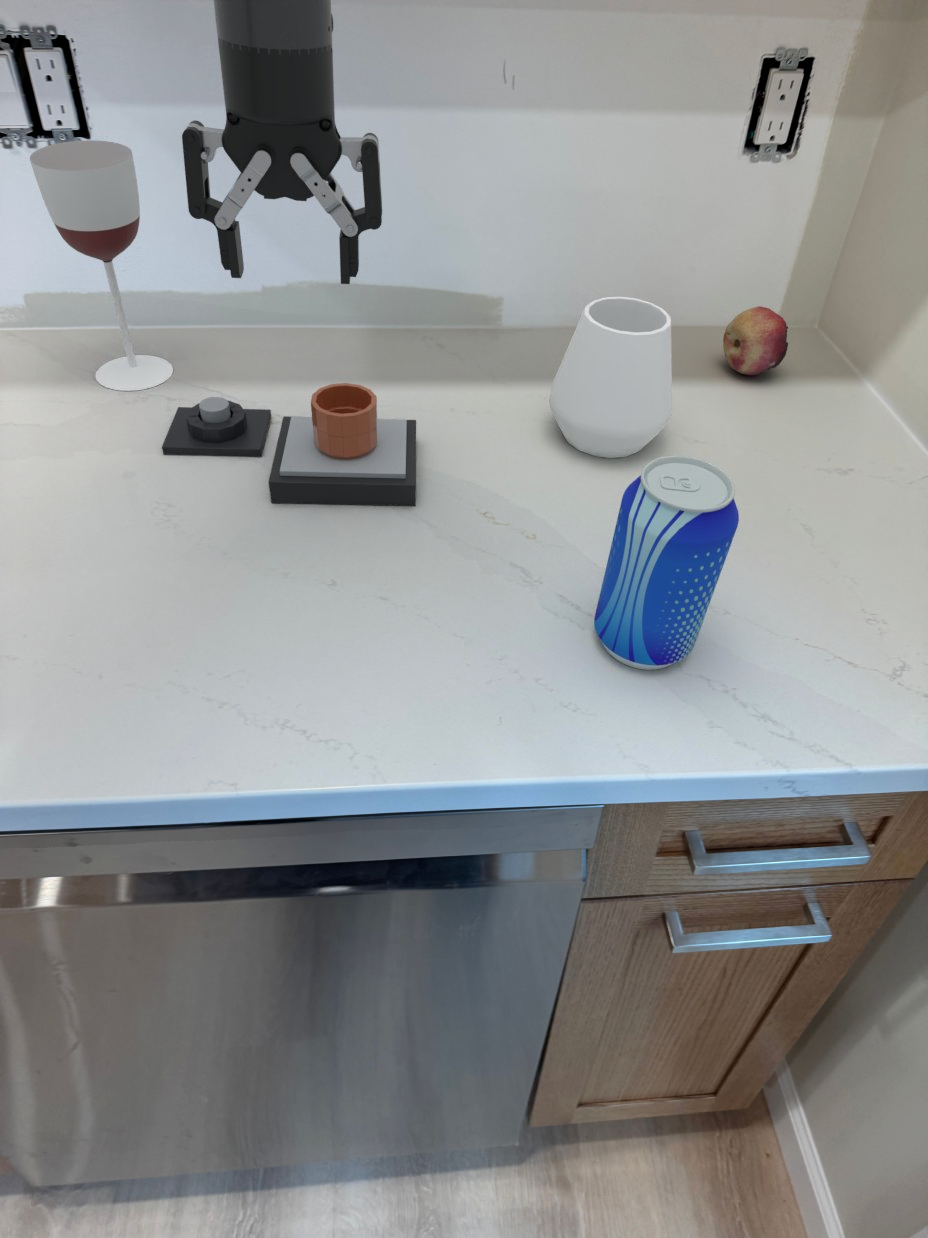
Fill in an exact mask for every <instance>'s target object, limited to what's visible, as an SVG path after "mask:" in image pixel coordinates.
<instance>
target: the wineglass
mask: <svg viewBox="0 0 928 1238" xmlns="http://www.w3.org/2000/svg"><path fill="white" fill-rule="evenodd" d="M29 161H30V164H31V168H32V171H33V174H34V177H35V180H36V183H37V185H38V188H39V189H38V190H39V192H40V194H41V197H42V200H43V202H44V206H45V207H46V210H47V212H48V215H49V217H50V218H51V221H52V223H53V224H54V226H55V228H56V230H57V231H58V233H59V235H60V236H61V238H62V239H63V241H64V242H65V243H66V244H67V245H68V246H69V247H70V248H72V249H73V250H75V251H77V252H78V253H80V254H82V255H84V256H87V257H90V258H93V259H96V260H100V261H102V263H103V265H104V270H105V273H106V278H107V283H108V286H109V291H110V294H111V295H110V296H111V298H112V302H113V307H114V310H115V315H116V318H117V319H116V320H117V322H118V327H119V330H120V334H121V338H122V339H121V340H122V343H123V347H124V350H125V351H124V352H125V355H126V356H122V357H118V358H115V359H111V360H109V361H107V362H105V363H104V364H103V365H101V366H100V367H99V368H98V369H97V370H96V372H95V380H96V381H97V383H98V384H99V385H101V386H102V387H105V388H106V389H109V390H110V389H111V390H115V391H120V392H121V391H122V392H123V391H124V392H133V391H143V390H146V389H147V390H148V389H151V388H154V387H156V386H159V385H161V384H163V383H165V382H166V381H168V380H169V379H170V378H171V377H172V375H173V373H174V366H173V365H172V364H171V363H170V362H169V361H168V360H166V359H164V358H162V357H159V356H154V355H145V354H136V355H135V351H134V347H133V343H132V339H131V335H130V330H129V326H128V321H127V318H126V313H125V309H124V305H123V302H122V297H121V293H120V289H119V284H118V279H117V275H116V272H115V268H114V263H113V261H114V259H115V258H116V257H118V256H119V255H120V254H122V253H123V252H125V251H126V250H127V249H128V248H129V247H130V246H131V245H132V243H133V242H134V240H135V239H136V238H137V235H138V232H139V227H140V217H141V208H140V207H141V205H140V195H139V187H138V180H137V173H136V166H135V162H134V156H133V151H132V149H131V148H130V147H128V146H126V145H125V144H122V143H119V142H113V141H107V140H90V139H89V140H87V139H86V140H71V141H65V142H60V143H59V142H58V143H54V144H50V145H46V146H44V147H41V148H39V149H37V150H35V151H33V152H32V153H31V154H30V156H29Z"/></svg>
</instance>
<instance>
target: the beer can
mask: <svg viewBox="0 0 928 1238" xmlns="http://www.w3.org/2000/svg"><path fill="white" fill-rule="evenodd" d="M735 486H736V485H735V484H734V482H733V480H732V478H731V477H730V475H728V474H727V473H726V471H724V470H723V469H721V468H720V467H718V466H716V465H715V464H713V463H711V462H709V461H706V460H703V459H699V458H697V457H693V456H686V455H667V456H661V457H657V458H655V459H653V460H651V461H649V462H648V463H646V464H645V466H644V467H643V468H642V470H641V473H640V475H639V476H638V477H637V478H636V479H634V480H633V481H632V482H631V483H630V484H629V485H628V486H627V488H625V490H624V492H623V494H622V497H621V502H620V506H619V510H618V515H617V519H616V523H615V527H614V532H613V536H612V541H611V544H610V549H609V554H608V557H607V561H606V566H605V571H604V575H603V579H602V583H601V588H600V593H599V595H598V601H597V605H596V609H595V613H594V619H593V626H594V627H593V628H594V631H595V634H596V636H597V637H598V639H599V641H600V643H602V646H603V647H604V649H605V650H606V652H607V653H608V654H609V655H610V656H611V657H613V658H614V659H615V660H617V661H618V662H620V663H622V664H623V665H626V666H628V667H632V668H634V669H639V670H647V671H648V670H649V671H653V670H654V671H655V670H660V669H661V670H662V669H665V668H667V667H669V666H672V665H673V664H676V663H679V662H680V661H682V660H684V659H685V658H687V657H688V656H689V655H690V654H691V652H692V651H693V649H694V648H695V644H696V642H697V639H698V637H699V634H700V631H701V628H702V626H703V623H704V621H705V618H706V615H707V611H708V609H709V606H710V603H711V601H712V598H713V595H714V592H715V590H716V588H717V584H718V581H719V578H720V577H721V574H722V571H723V568H724V565H725V562H726V560H727V557H728V554H729V551H730V549H731V546H732V543H733V540H734V537H735V534H736V532H737V529H738V526H739V522H740V516H739V515H740V514H739V509H738V506H737V504H736V501H735V494H736V488H735Z"/></svg>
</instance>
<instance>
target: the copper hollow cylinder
mask: <svg viewBox="0 0 928 1238" xmlns="http://www.w3.org/2000/svg"><path fill="white" fill-rule="evenodd" d="M377 398H378V397H377V395H376V393H374V392H373V391H372V390H371V389H370V388H368V387H365V386H364V385H361V384H357V383H349V382H342V383H341V382H339V383H331V384H328V385H325V386H322V387H320V388H318V389H317V390H316V391H315V392H314V393H312V395H311V399H310V409H311V411H310V412H311V417H312V422H313V435H314V443H315V444H316V446H317V447H318V449H319V450H321V451H322V452H324V453H325V454H327V455H328V456H331V457H334V458H339V459H352V458H357V457H361V456H363V455H365V454H367V453H368V452H370V451H371V450H372V449H373V448H374V447H375V446H376V445H377V437H378V435H377V419H378V400H377Z"/></svg>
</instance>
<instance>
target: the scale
mask: <svg viewBox="0 0 928 1238" xmlns="http://www.w3.org/2000/svg"><path fill="white" fill-rule="evenodd" d="M377 435H378V437H377V445H376V446H375V447H374V448H373V449H372V450H371V451H370V452H368V453H367V454H365V455H363V456H361V457H357V458H352V459H339V458H334V457H331V456H328V455H327V454H325V453H324V452H322V451H321V450H319V449H318V447H317V446H316V444H315V443H314V435H313V422H312V416H289V415H287V416H286V415H284V416H283V417H282V420H281V426H280V430H279V434H278V439H277V443H276V446H275V447H276V448H275V452H274V456H273V460H272V465H271V469H270V474H269V478H268V489H269V495H270V496H269V498H270V503H271V504H298V505H299V504H301V505H302V504H305V505H347V506H348V505H351V506H353V505H355V506H399V507H401V506H402V507H403V506H405V507H407V506H408V507H416V502H417V501H416V500H417V499H416V498H417V420H416V419H404V418H403V419H402V418H400V419H399V418H377Z"/></svg>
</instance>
